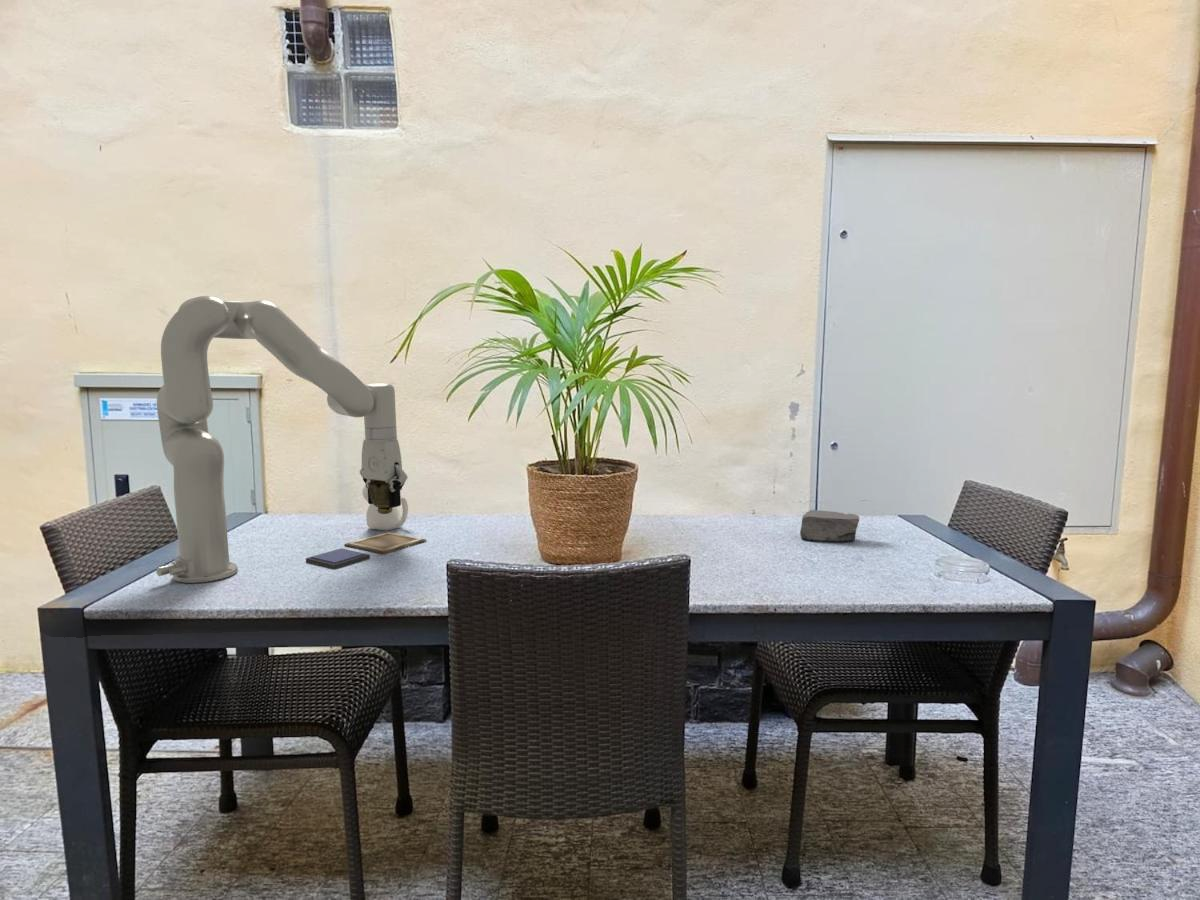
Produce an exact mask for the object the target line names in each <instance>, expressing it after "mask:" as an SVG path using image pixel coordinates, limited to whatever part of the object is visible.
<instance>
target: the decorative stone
mask: <svg viewBox="0 0 1200 900" xmlns="http://www.w3.org/2000/svg"><path fill="white" fill-rule="evenodd" d="M859 522H860V516H859V515H857V514H856V513H855V514H854V513H843V512H838V511H831V510H830V511H829V510H821V509H820V510H818V509H817V510H816V509H810V510H808V511H807V512H806V513H804V514H803V515H802V519H801V526H800V532H799V535H800V538H801V540H803V541H805V542H806V541H807V542H816V543H832V544H838V543H840V544H842V543H845V544H846V543H853V542H854V541H855V540H856V533H857V528H858V526H859Z"/></svg>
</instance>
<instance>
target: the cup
mask: <svg viewBox="0 0 1200 900" xmlns="http://www.w3.org/2000/svg"><path fill="white" fill-rule="evenodd" d="M393 484H394V485H395V481H394V482H393ZM368 486H369V492H370V497H371V501H372V503H373V505H374V506H376V507H378V509H377V511H378V513H380V514H389V513H391V512H392V510H393V509H392V508H390V507H389V492H390V491H391V490H390V488H389V484H388V483H386V482H383V481H378V482H376V481H375V480H374V482H373V483H371V482H370V483H368Z"/></svg>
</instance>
